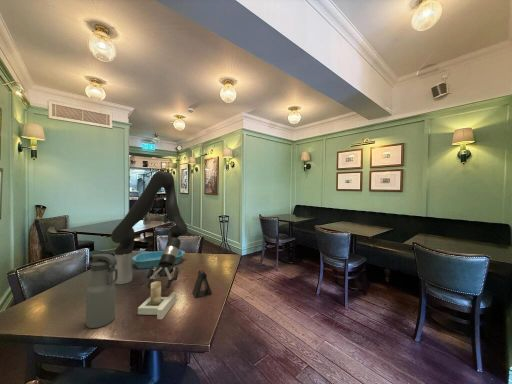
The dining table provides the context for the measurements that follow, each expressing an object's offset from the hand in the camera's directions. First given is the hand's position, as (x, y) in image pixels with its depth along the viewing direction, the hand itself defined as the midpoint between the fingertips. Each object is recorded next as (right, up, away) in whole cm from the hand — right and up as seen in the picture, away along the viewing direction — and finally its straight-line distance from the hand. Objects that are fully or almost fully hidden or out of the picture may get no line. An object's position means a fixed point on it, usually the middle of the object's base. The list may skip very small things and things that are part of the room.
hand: (158, 288), depth 100 cm
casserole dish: (-27, -9, +61) cm, 68 cm away
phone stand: (+17, -9, +14) cm, 24 cm away
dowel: (-1, -9, -1) cm, 9 cm away
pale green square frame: (-1, -9, -1) cm, 9 cm away
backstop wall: (+5, -9, -1) cm, 10 cm away
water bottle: (-19, -9, -11) cm, 24 cm away
